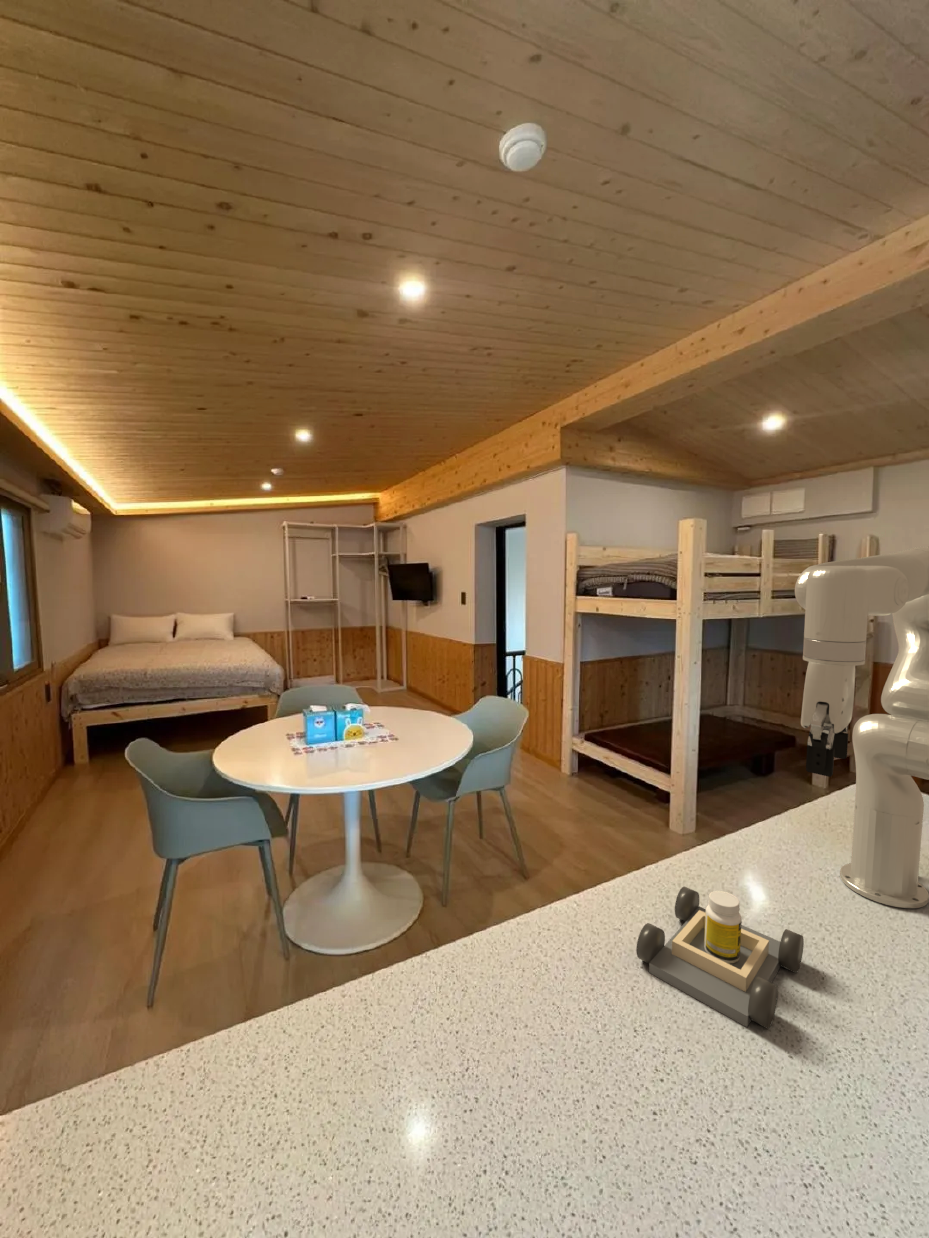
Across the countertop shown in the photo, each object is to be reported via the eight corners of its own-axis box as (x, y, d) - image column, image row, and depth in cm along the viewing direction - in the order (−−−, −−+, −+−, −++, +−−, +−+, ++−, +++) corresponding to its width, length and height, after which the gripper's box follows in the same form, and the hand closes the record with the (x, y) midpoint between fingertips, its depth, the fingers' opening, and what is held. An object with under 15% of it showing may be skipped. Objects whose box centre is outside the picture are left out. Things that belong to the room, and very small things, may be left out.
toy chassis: (686, 909, 90) (687, 881, 90) (802, 961, 78) (804, 929, 78) (635, 965, 77) (636, 932, 77) (764, 1037, 65) (766, 999, 65)
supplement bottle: (744, 966, 75) (747, 910, 74) (708, 962, 76) (711, 906, 75) (734, 943, 80) (736, 890, 79) (700, 939, 81) (702, 886, 80)
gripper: (817, 643, 87) (811, 745, 88) (788, 655, 74) (782, 774, 76) (875, 647, 81) (868, 756, 83) (853, 662, 69) (845, 789, 71)
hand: (826, 764), depth 79 cm, fingers open, 9 cm apart
